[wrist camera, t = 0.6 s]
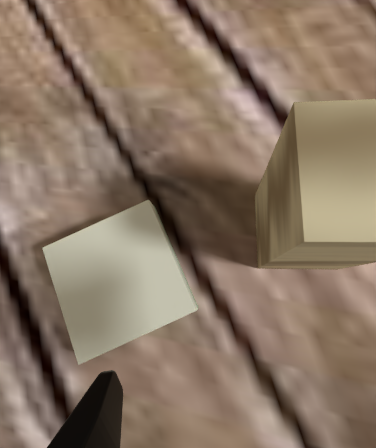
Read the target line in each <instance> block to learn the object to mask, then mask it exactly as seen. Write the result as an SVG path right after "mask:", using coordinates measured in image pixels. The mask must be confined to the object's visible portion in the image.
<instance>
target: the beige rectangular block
mask: <svg viewBox="0 0 376 448" xmlns="http://www.w3.org/2000/svg"><path fill="white" fill-rule="evenodd" d="M255 211H256V238H257V266H258V268H265V269H342V268H348V267H353V266H358V265H363V264H369V263H374V262H376V99H368V100H343V101H318V102H294V103H293V106H292V108H291V110H290V113H289V115H288V118H287V120H286V122H285V125H284V127H283V130H282V132H281V134H280V137H279V139H278V142H277V144H276V146H275V149H274V151H273V154H272V156H271V158H270V161H269V163H268V166H267V168H266V170H265V173H264V175H263V178H262V180H261V182H260V185H259V187H258V190H257V192H256V194H255Z"/></svg>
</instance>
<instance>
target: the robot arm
mask: <svg viewBox="0 0 376 448" xmlns="http://www.w3.org/2000/svg"><path fill="white" fill-rule="evenodd" d="M122 405H123V389H122V385H121V383H120V381H119V379H118V376H117V374H116V372H115V371H113V370H111V371H104V372H101V373H100V374H99V375H98V376H97V378H96V379H95V381H94V382H93V383H92V385H91V386H90V388H89V389H88V390H87V392H86V393H85V395H84V396H83V397H82V399H81V400H80V402H79V403H78V405H77V406H76V407H75V409H74V410H73V412H72V413H71V414H70V416H69V417H68V419H67V420H66V421H65V423H64V424H63V426H62V427H61V429H60V430H59V431H58V433H57V434H56V436H55V437H54V438H53V440H52V441H51V443H50V444H49V445H48V447H47V448H120V439H121V422H122Z"/></svg>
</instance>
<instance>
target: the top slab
mask: <svg viewBox="0 0 376 448" xmlns="http://www.w3.org/2000/svg"><path fill="white" fill-rule="evenodd" d="M42 249H43V252H44V255H45V259H46V262H47V265H48V268H49V272H50V275H51V278H52V281H53V284H54V288H55V291H56V294H57V297H58V301H59V304H60V307H61V310H62V314H63V317H64V320H65V323H66V327H67V330H68V333H69V336H70V340H71V343H72V346H73V349H74V352H75V356H76V359H77V362H78V365H79V364H82V363H84V362H86V361H88V360H90V359H92V358H95V357H97V356H99V355H101V354H103V353H105V352H108V351H110V350H112V349H114V348H116V347H118V346H121V345H123V344H125V343H127V342H129V341H131V340H134V339H136V338H138V337H140V336H142V335H145V334H147V333H149V332H151V331H153V330H155V329H158V328H160V327H162V326H164V325H166V324H168V323H171V322H173V321H175V320H177V319H179V318H181V317H184V316H186V315H188V314H190V313H192V312H194V311H197V310H198V308H197V306H196V304H195V301H194V299H193V297H192V294H191V292H190V290H189V288H188V285H187V283H186V281H185V278H184V276H183V274H182V271H181V269H180V267H179V264H178V262H177V260H176V258H175V255H174V253H173V251H172V248H171V246H170V244H169V241H168V239H167V237H166V234H165V232H164V230H163V228H162V225H161V223H160V221H159V218H158V216H157V214H156V211H155V209H154V207H153V205H152V203H151V202H150V201H149V200H146V201H144V202H142V203H140V204H138V205H135V206H133V207H131V208H129V209H127V210H124V211H122V212H120V213H118V214H115V215H113V216H111V217H109V218H107V219H104V220H102V221H100V222H98V223H96V224H93V225H91V226H89V227H87V228H85V229H82V230H80V231H78V232H76V233H74V234H71V235H69V236H67V237H65V238H63V239H60V240H58V241H56V242H54V243H52V244H49V245H47V246H45V247H43V248H42Z"/></svg>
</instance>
